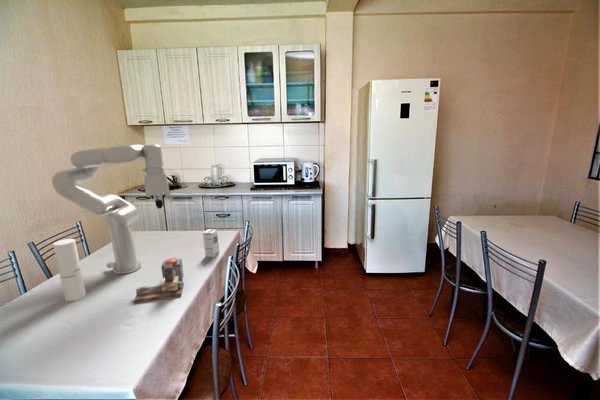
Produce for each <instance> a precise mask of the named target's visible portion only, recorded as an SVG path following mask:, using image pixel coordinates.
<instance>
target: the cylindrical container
mask: <svg viewBox="0 0 600 400" xmlns="http://www.w3.org/2000/svg"><path fill="white" fill-rule="evenodd" d="M52 246H53V249H54V255H55V259H56V264H57V269H58V274H59V277H60V281H61V286H62V290H63V295H64V299H65V301H66V302H73V301H77V300H81V299H82V298H84V297H85V296H86V295H87V292H86V286H85V281H84V278H83V277H84V276H83V273H82V267H81V262H80V257H79V252H78V247H77V243H76V239H75V238H67V239H61V240H58V241H55V242H54V243H52Z"/></svg>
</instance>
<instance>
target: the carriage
mask: <svg viewBox="0 0 600 400" xmlns="http://www.w3.org/2000/svg"><path fill="white" fill-rule="evenodd" d="M164 275H165V278H163V277H162V281H161V283H160V284H161V286H162V292H168V291H175V290H178V286H177V283H178V282H179V278H178V276H174V270H173V264H166V265H165V266H164Z"/></svg>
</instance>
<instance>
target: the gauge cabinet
mask: <svg viewBox="0 0 600 400" xmlns="http://www.w3.org/2000/svg"><path fill="white" fill-rule="evenodd" d="M177 260H178V262H177V263H176V264H173V270H174V276H178V278H179V282H180V281H182V282H184V281H183V280H184V277H185V276H184V269H183V268H184V267H183V261H182V260H183V259H182V258H177ZM165 261H166V260H163V261H162V264H161V266H160V267H161V273H162V279H163V278H165V275H164V266H165V265H166V263H165Z"/></svg>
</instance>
